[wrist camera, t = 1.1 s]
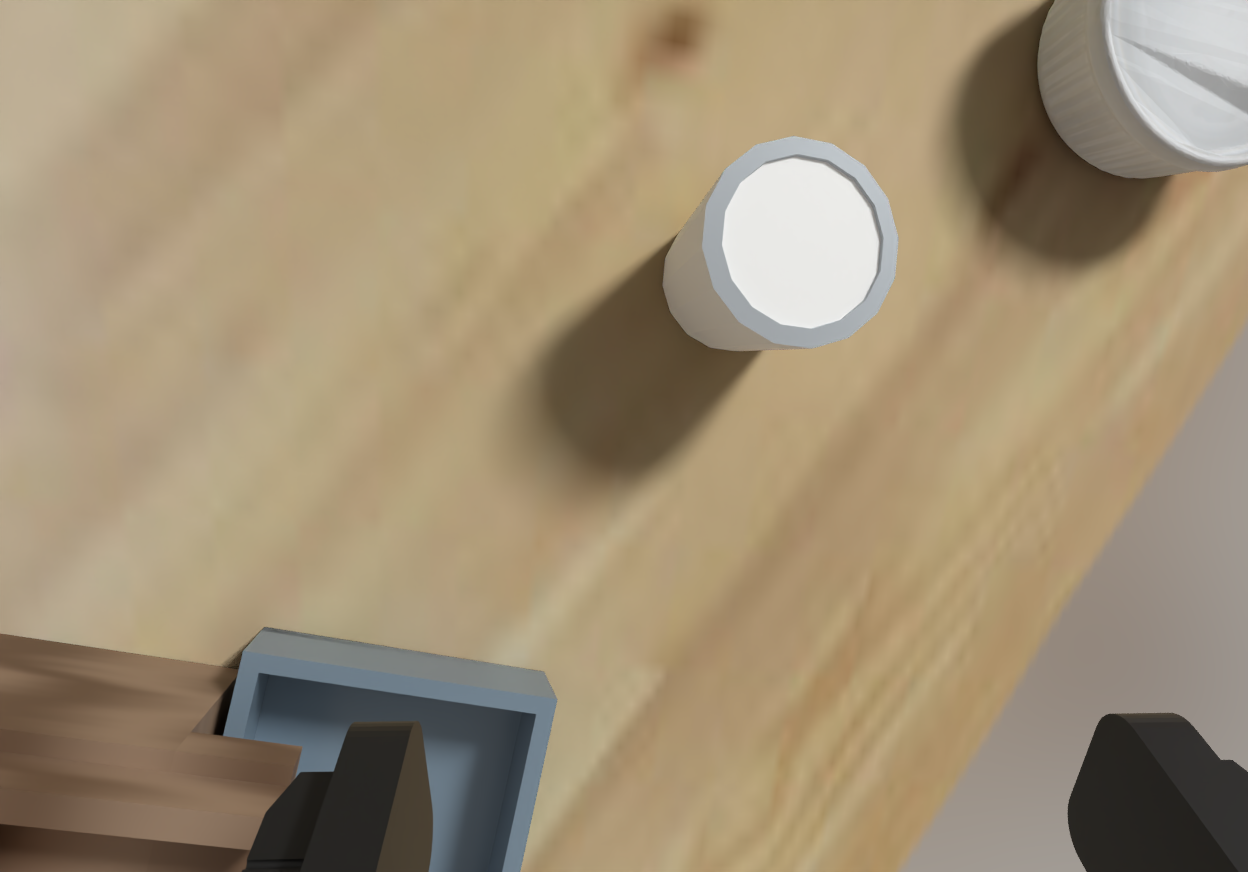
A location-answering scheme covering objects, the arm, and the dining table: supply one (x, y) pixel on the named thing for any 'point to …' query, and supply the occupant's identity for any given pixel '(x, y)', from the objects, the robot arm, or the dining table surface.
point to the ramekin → (1148, 83)
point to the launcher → (126, 763)
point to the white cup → (783, 251)
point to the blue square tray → (411, 691)
